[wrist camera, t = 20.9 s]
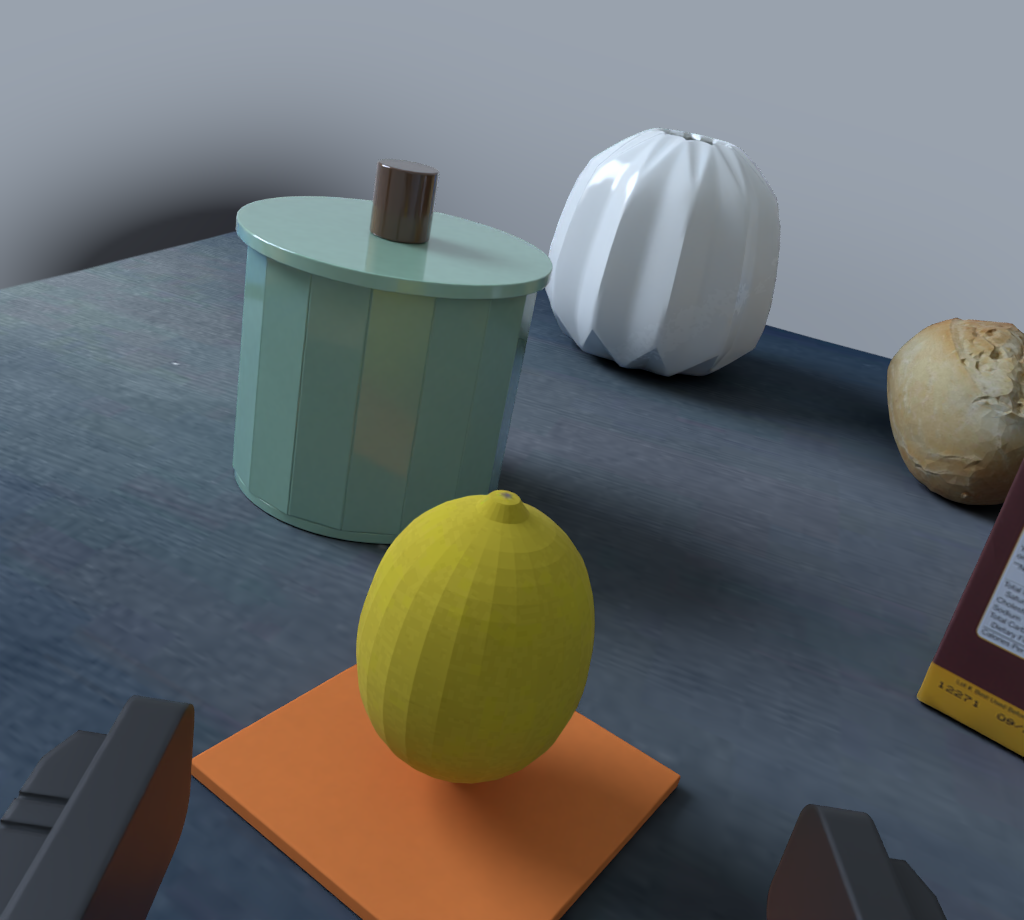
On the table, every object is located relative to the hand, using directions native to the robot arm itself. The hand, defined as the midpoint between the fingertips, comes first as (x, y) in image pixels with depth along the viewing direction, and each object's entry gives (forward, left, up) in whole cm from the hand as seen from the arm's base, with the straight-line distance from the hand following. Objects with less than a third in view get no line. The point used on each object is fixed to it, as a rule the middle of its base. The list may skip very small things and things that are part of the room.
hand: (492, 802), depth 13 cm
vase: (+45, +21, -9) cm, 50 cm away
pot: (+18, +19, -9) cm, 27 cm away
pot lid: (+18, +19, +1) cm, 26 cm away
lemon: (+8, +5, -8) cm, 13 cm away
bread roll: (+47, +2, -9) cm, 48 cm away
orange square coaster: (+8, +6, -9) cm, 13 cm away
